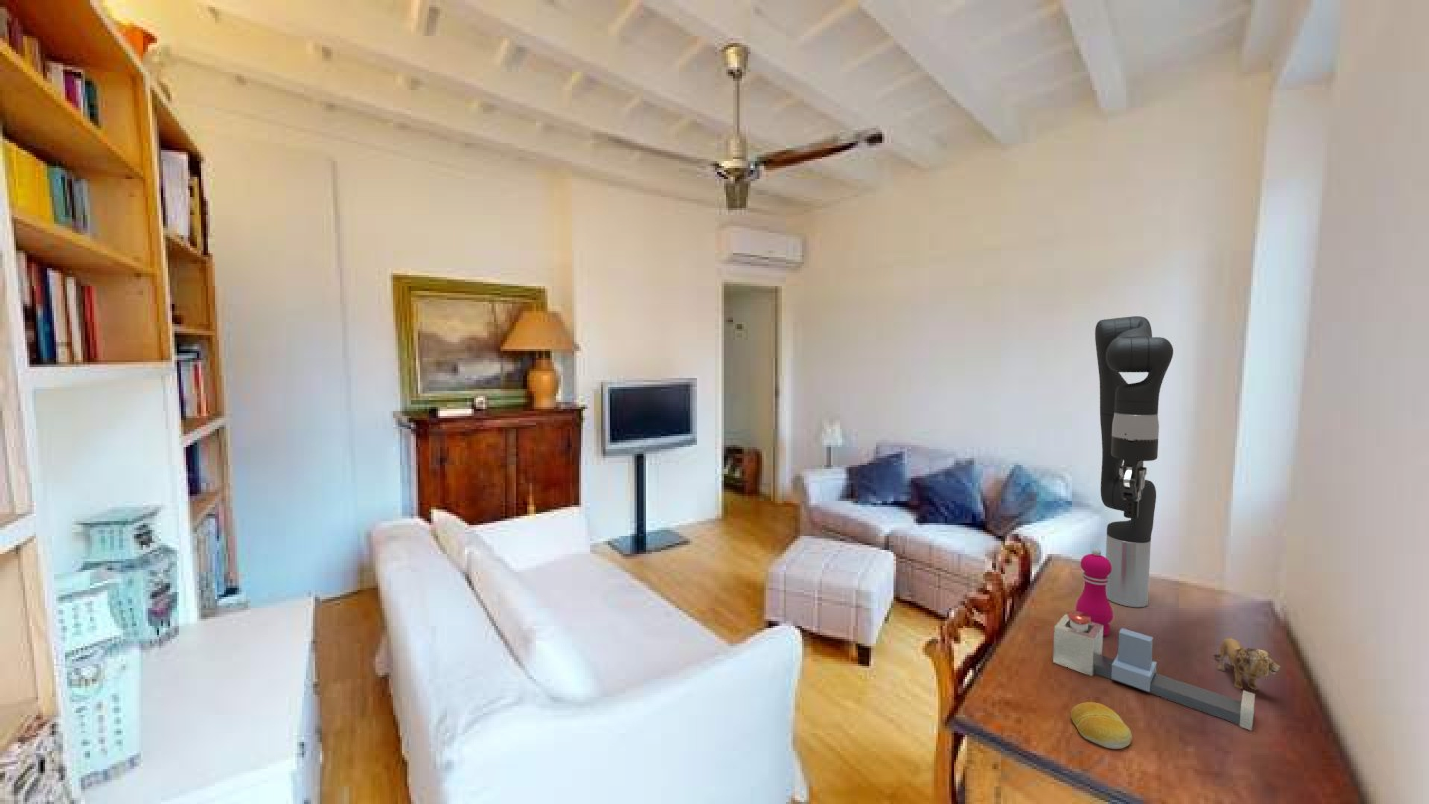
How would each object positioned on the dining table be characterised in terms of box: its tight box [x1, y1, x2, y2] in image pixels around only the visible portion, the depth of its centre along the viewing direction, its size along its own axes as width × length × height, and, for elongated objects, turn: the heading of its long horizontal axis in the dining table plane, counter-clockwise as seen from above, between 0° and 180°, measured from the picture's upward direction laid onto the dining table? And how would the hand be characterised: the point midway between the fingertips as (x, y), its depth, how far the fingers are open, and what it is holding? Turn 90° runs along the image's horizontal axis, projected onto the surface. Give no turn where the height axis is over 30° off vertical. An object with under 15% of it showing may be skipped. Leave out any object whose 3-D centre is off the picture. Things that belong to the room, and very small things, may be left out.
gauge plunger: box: [1067, 610, 1091, 633], centre depth 113 cm, size 4×4×6 cm
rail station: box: [1052, 613, 1256, 732], centre depth 105 cm, size 8×30×8 cm, turn 42°
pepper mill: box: [1075, 548, 1114, 637], centre depth 126 cm, size 7×7×20 cm
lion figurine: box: [1212, 637, 1281, 691], centre depth 107 cm, size 15×5×9 cm, turn 166°
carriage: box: [1110, 628, 1158, 693], centre depth 106 cm, size 7×6×9 cm
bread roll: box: [1070, 701, 1133, 750], centre depth 93 cm, size 8×9×4 cm
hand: (1130, 517), depth 110 cm, fingers closed
